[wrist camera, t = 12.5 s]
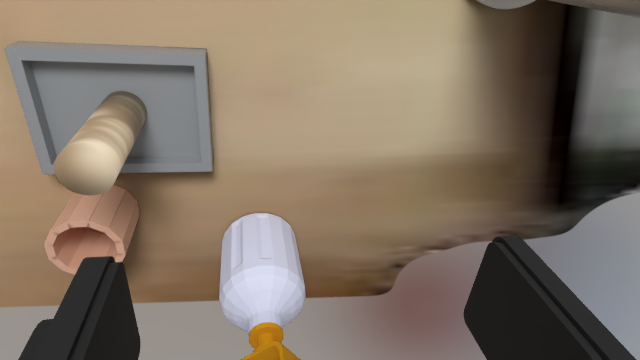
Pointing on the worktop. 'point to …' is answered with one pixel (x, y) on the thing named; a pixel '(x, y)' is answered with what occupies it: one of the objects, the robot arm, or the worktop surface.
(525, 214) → the worktop surface
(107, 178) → the dowel
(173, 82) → the tray
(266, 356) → the soap bottle
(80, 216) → the cup
